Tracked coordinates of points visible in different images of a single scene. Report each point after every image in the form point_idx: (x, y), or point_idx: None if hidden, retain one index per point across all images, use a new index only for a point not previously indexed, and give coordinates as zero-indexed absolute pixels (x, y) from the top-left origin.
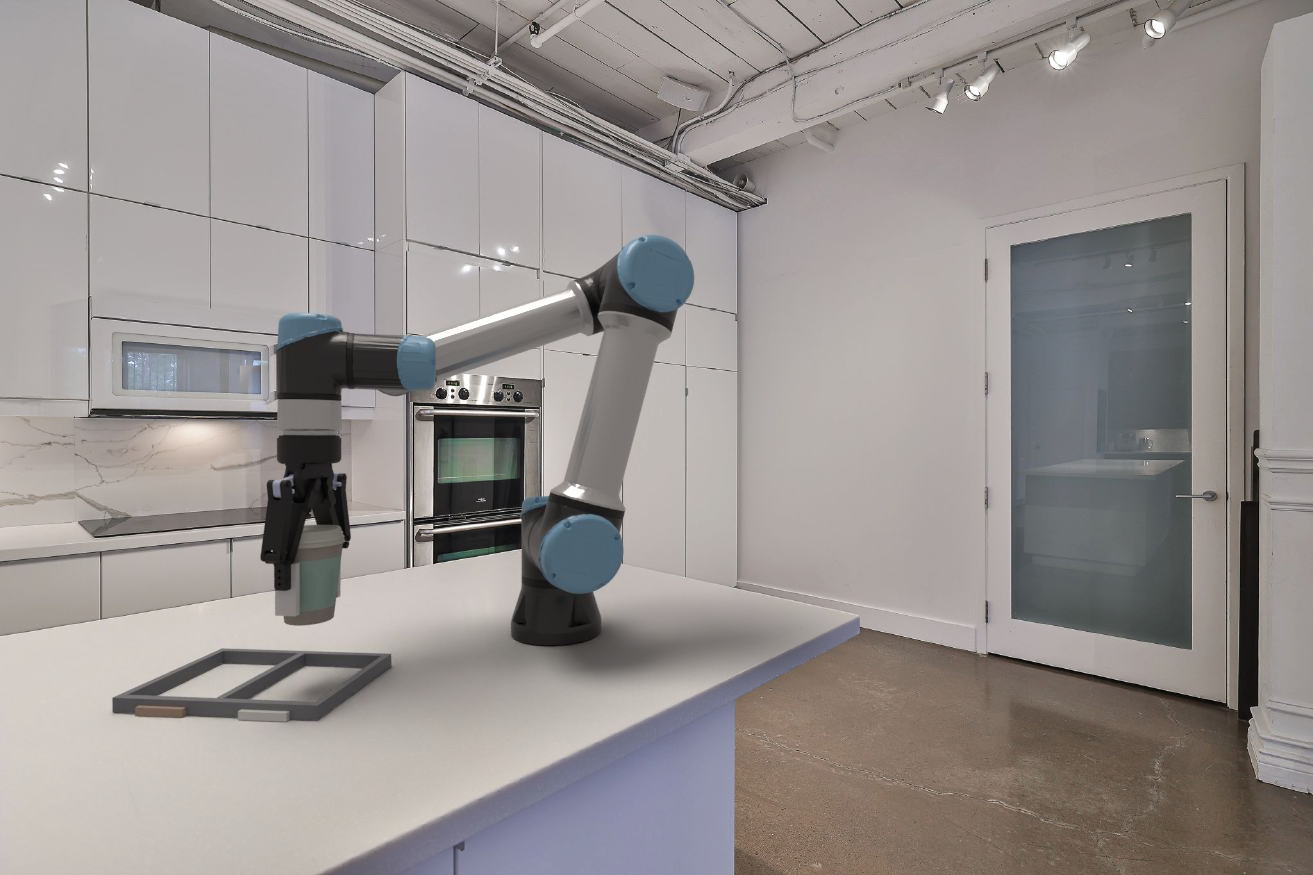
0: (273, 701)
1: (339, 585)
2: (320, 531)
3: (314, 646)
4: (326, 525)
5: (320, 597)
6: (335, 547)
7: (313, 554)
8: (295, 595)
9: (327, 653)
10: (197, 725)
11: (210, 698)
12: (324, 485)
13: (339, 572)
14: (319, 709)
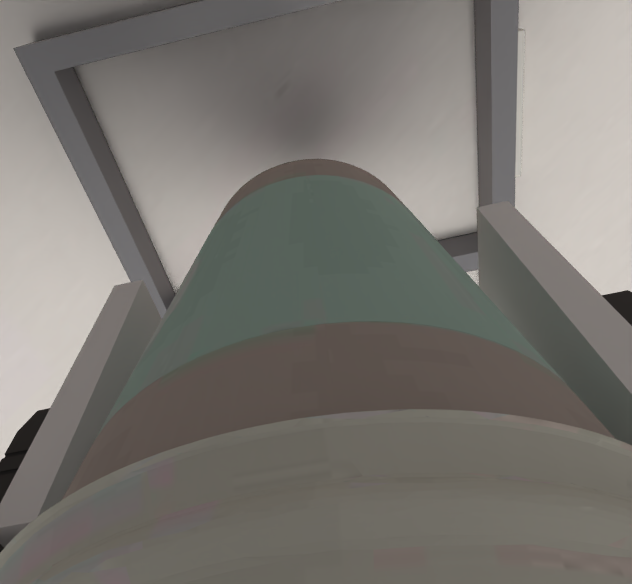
0: (500, 106)
1: (104, 321)
2: None
3: (62, 377)
4: None
5: (385, 206)
6: (348, 401)
7: (592, 419)
8: (559, 253)
9: (138, 262)
10: (544, 229)
11: None
12: None
13: (79, 374)
14: None
